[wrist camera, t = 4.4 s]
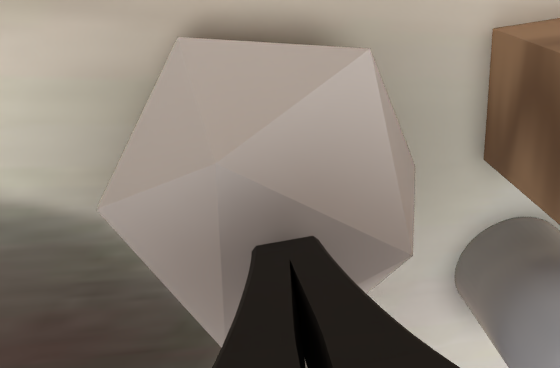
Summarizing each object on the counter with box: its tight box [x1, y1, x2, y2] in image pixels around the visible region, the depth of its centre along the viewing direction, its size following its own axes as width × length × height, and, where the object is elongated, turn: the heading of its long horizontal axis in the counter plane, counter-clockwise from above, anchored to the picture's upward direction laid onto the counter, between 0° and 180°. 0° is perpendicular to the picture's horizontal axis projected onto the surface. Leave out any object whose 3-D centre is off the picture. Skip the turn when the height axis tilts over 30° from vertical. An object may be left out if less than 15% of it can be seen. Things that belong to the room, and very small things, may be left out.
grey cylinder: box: [455, 217, 560, 368], centre depth 20 cm, size 5×5×6 cm
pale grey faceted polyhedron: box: [96, 37, 415, 348], centre depth 15 cm, size 8×9×10 cm
